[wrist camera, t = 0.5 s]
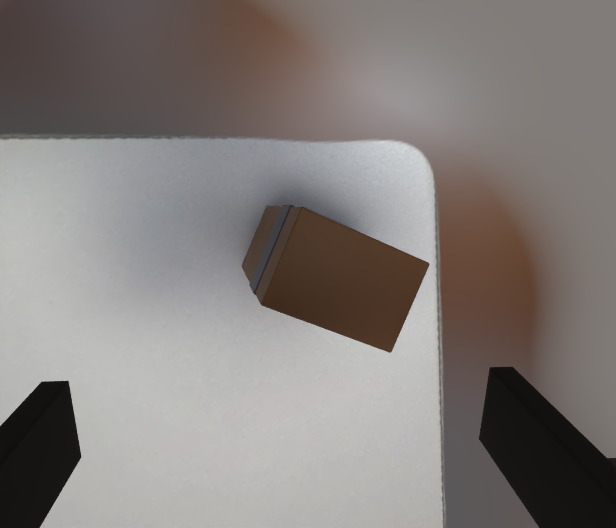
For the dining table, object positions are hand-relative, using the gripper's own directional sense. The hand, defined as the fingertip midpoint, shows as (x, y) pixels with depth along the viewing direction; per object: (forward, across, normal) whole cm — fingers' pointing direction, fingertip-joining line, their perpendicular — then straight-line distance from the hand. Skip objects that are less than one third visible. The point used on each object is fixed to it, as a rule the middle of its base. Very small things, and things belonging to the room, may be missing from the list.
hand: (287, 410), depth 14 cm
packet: (+16, +1, +1) cm, 16 cm away
